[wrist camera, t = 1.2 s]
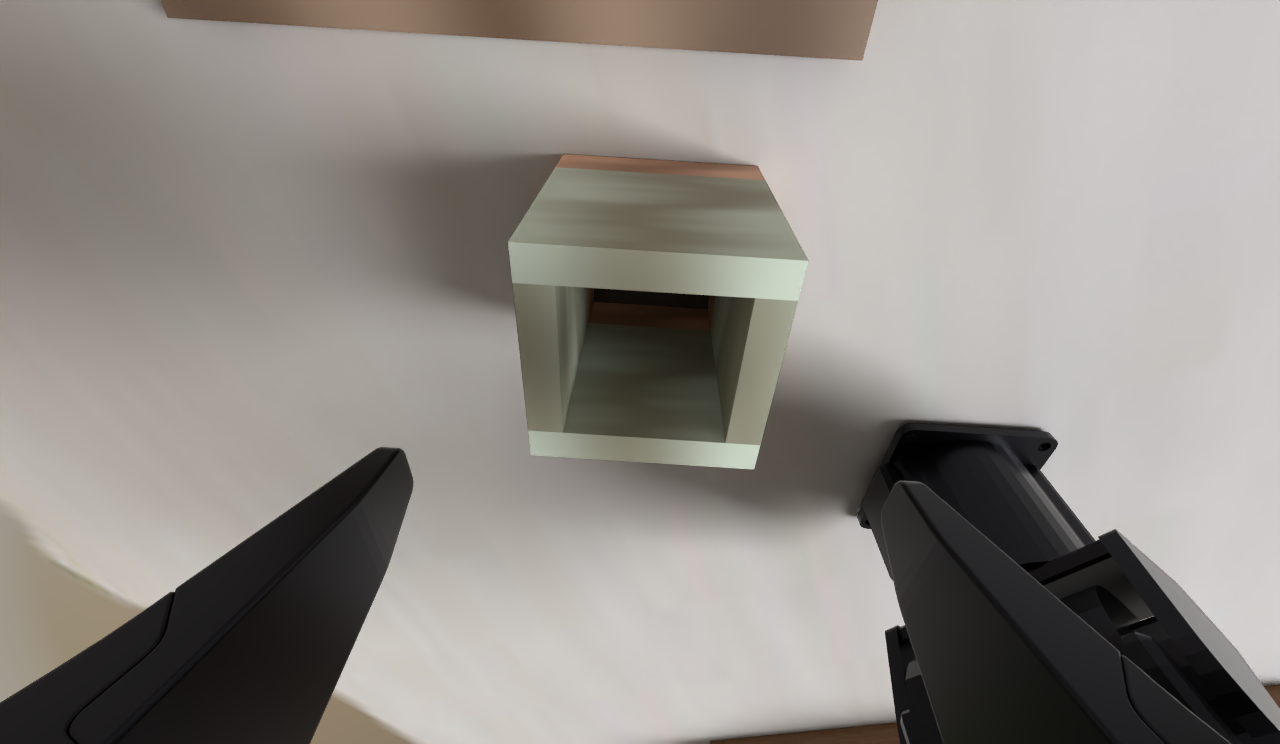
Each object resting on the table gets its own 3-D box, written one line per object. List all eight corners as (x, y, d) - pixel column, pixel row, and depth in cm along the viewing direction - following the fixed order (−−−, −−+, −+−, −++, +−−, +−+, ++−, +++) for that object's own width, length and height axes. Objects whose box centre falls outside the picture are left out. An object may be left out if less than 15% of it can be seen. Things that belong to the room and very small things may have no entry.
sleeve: (757, 166, 16) (808, 260, 10) (728, 331, 19) (753, 469, 14) (563, 153, 16) (508, 242, 10) (569, 321, 19) (530, 455, 14)
